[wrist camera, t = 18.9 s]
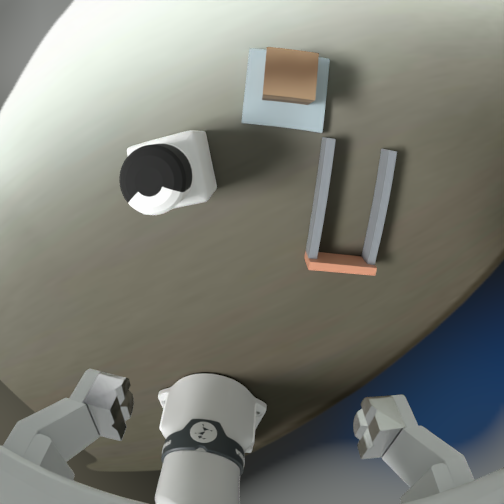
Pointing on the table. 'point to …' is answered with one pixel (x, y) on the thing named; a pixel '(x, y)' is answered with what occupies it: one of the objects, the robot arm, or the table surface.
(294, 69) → the block
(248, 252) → the table surface
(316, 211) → the channel
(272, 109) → the tile
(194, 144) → the medicine bottle
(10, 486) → the robot arm
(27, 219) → the table surface
